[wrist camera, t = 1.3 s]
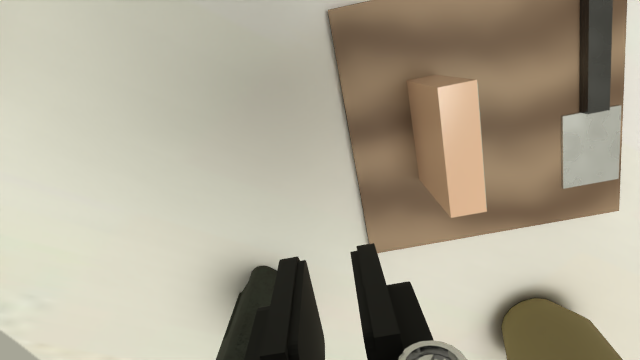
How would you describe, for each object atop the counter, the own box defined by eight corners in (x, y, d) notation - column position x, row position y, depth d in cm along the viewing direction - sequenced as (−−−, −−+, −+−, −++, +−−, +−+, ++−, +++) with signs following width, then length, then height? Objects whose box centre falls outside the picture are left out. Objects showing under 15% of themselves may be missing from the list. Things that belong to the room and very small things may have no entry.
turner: (559, -41, 26) (568, -45, 25) (624, -55, 26) (636, -60, 25) (561, 187, 31) (569, 191, 30) (616, 177, 31) (625, 181, 30)
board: (327, 11, 28) (328, 9, 27) (616, -51, 27) (629, -56, 26) (369, 247, 34) (371, 254, 33) (608, 205, 33) (618, 210, 32)
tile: (406, 80, 29) (437, 87, 21) (436, 74, 29) (478, 79, 21) (419, 179, 31) (450, 218, 23) (446, 174, 31) (487, 211, 23)
